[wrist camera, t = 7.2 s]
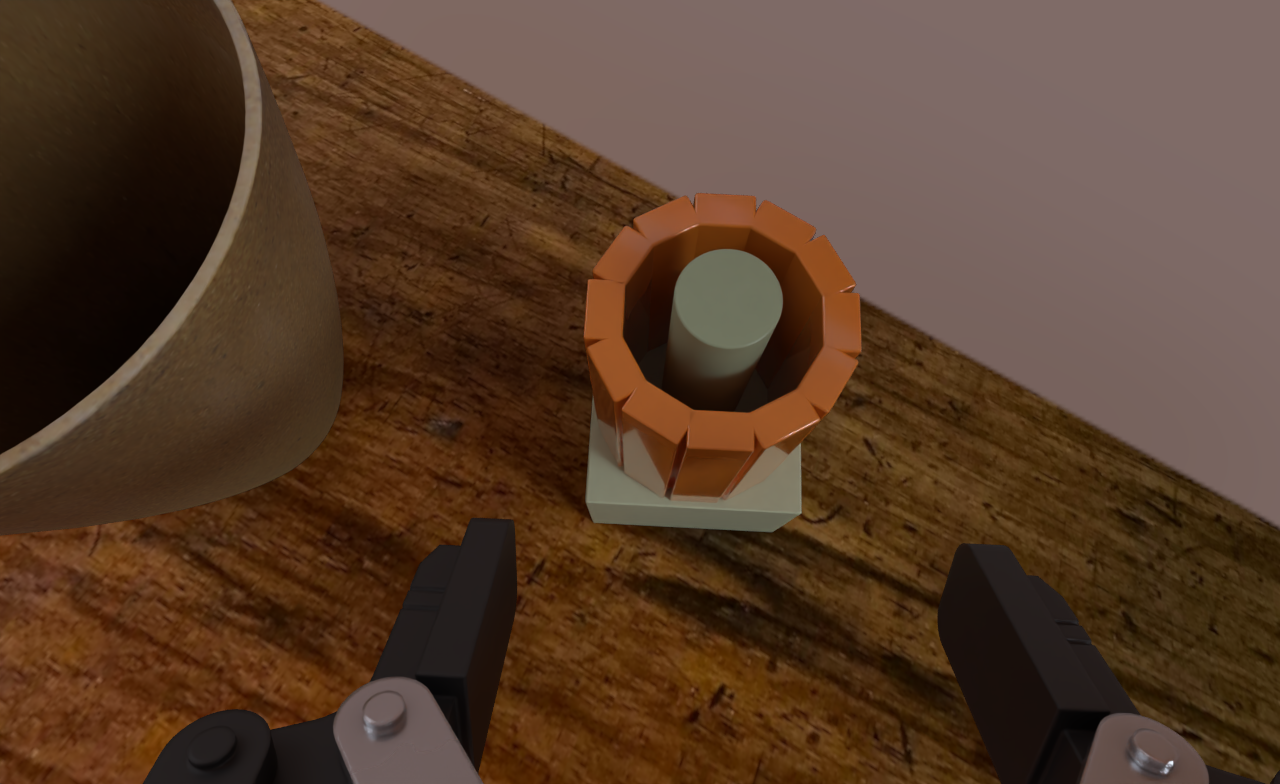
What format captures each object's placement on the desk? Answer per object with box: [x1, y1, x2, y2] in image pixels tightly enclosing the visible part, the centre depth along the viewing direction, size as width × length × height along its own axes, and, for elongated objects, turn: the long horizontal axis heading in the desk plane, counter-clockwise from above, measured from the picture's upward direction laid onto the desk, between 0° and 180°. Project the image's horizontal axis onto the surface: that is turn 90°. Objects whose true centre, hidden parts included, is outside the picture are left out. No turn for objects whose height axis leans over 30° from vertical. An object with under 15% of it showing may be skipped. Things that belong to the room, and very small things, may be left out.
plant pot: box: [0, 0, 343, 535], centre depth 22 cm, size 15×15×16 cm
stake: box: [585, 249, 801, 532], centre depth 23 cm, size 7×7×14 cm
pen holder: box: [583, 193, 862, 503], centre depth 21 cm, size 6×6×8 cm
